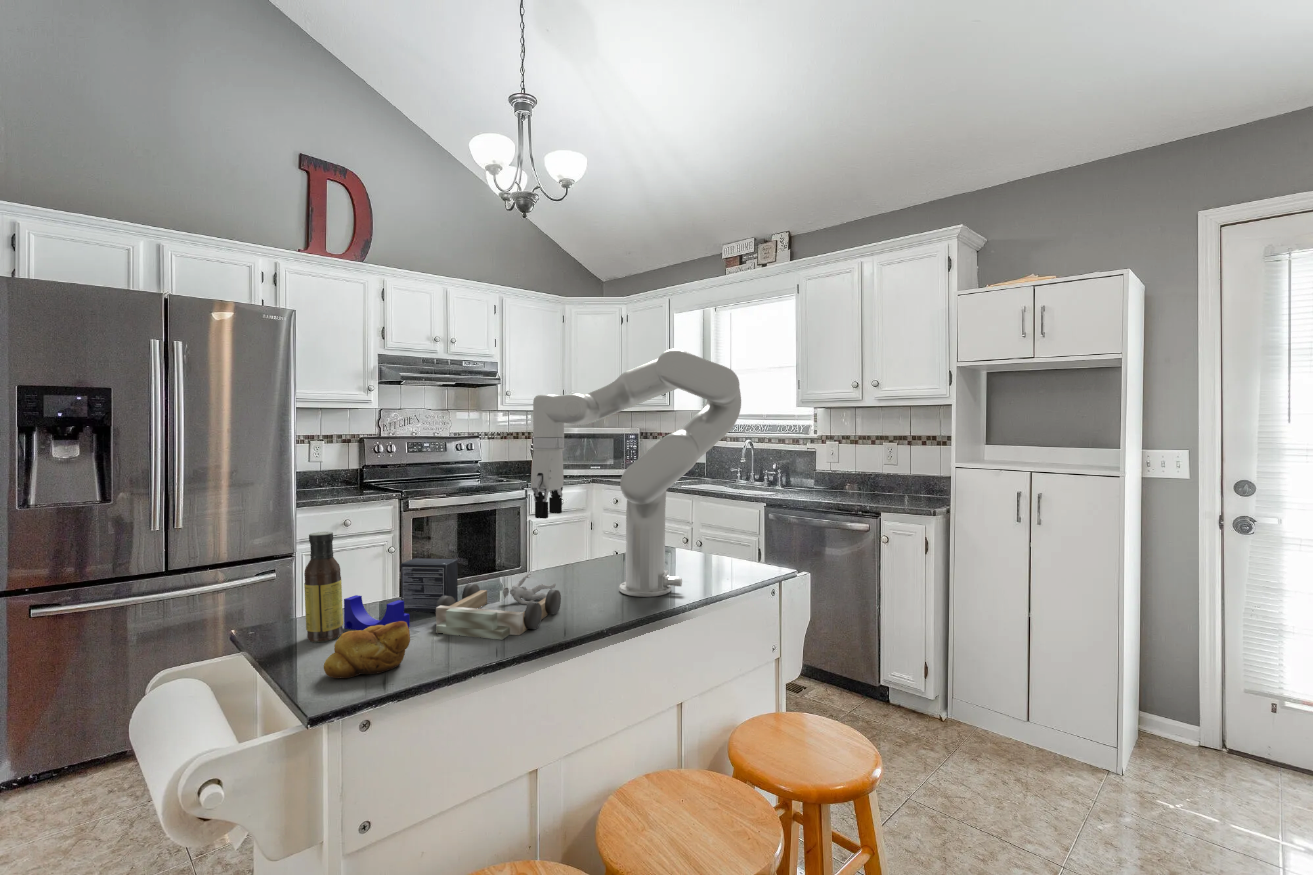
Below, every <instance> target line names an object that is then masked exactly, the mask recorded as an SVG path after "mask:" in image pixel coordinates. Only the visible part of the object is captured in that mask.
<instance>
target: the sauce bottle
mask: <svg viewBox="0 0 1313 875" xmlns="http://www.w3.org/2000/svg"><path fill="white" fill-rule="evenodd" d="M333 540H334V533H333V531H318V532H312V533H310V534H308V542H309V544H310V545H309V546H310V547H309V548H310V554H309V555H310V559H309V562H308V564H306V567H305V570H304V587H303V588H304V606H305V610H304V611H305V630H306V637H307V640H308V641H309V642H311V643H325V642H329V641H333V640H336V639H338V638H339V637H340V636H341V634H343V633H344V630H343V629H344V627H343V626H344V608H343V592H342V591H343V589H342V588H343V587H342V575H341V566H340V564H339V562H338V561H337V560H336V558H335V557H334V551H333V548H334V547H333V545H334V544H333Z"/></svg>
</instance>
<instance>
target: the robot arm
mask: <svg viewBox="0 0 1313 875" xmlns="http://www.w3.org/2000/svg"><path fill="white" fill-rule="evenodd" d="M675 390H682V391H684V392H686V393H688V394H691V395H694V396H697V397H700V398H701V399H705V400H706V402H705V404H704V406H703V407H702V408H701V409H700V410H699V411H698V412H697V413H696V414H695V415H693V416H692V417H691V418H690V419H689V421H687V422H686V423H685V424H683V425H682V426H681V427H680V428H678V429H677V430H676V431H674V432H672V433H669V434H667V435H665V436H664V437H662V438H661V439H660V440H658V441H657V442H656V443H655V444H654V445H653V446H652V447H650V448H649V449H648V450H647V451H646V452H644V453H643V454H642V455H640V457H639V458H637V459H636V460H635V461H634V462H632V463H631V464H630V465H629V466H628V467H627V468H626V469H625V470H624V472H622V475H621V478H620V484H619V485H620V490H621V493H622V496H623V497H624V498H625V499H626V508H625V509H626V514H625V516H626V517H625V581H624V582H622V583H620V584H619V587H618V590H619V592H620V593H621V594H624V595H627V596H629V597H630V596H631V597H638V598H639V597H641V598H649V597H651V598H652V597H658V596H664V595H667V594H669V593H670V592H671V591H672V586H673V587H682V586H683V579H682V578H680V576H670V574H669V570H666V567H665V566H666V507H667V506H666V503H667V500H666V498H667V490H668V489H670V487H671V486H672V485H674V484H676V482H677V481H679V480H680V479H681V478H682V477H683V476H685V474H686V473H688V472H689V471H690V470H692V468H693V467H694V466H695V465H696V463H698V461H699V459H701V458H702V457H703V456H704V455H705V454H706V453H707V452H709V451H710V450H711V449H712V448H713V447H715V445H716V444H717V443H719V441H721V440H722V439H723V438H724V437H725V436H726V435H727V434H728V433H729V432H730V431H731V430H732V428H734V426H735V425H736V423H737V421H738V418H739V416H740V413H741V409H742V396H741V394H742V393H741V389H740V380H739V377H738V376H737V374H736V372H734V370H732V369H731V368H729V367H727V366H725V365H721V364H720V363H717V362H714V361H711V360H709V359H705V358H703V357H700V356H697V355H695V354H693V353H690V352H687V351H685V350H683V349H680V348H669V349H667V350H665V351H664V352H662V353H661V354H660V355H659V357H658V358H656V359H653V360H650V361H649V362H646V363H644V364H642V365H638V366H636V367H634V368H631V369H628V370H625V371H624V372H623V373H621V374H620V375H619V376H618V377H617V378H616V379H615V380H614V381H612V382H610V383H609V384H607V385H605V386H603V387H601V388H597V389H595V390H592V391H590V392H587V393H586V394H583V393H569V394H562V395H561V394H560V395H559V394H537V395H536V396H535V397H534V398H533V400H532V401H533V402H532V406H533V407H532V409H533V410H532V412H533V413H532V414H533V415H532V428H533V433H532V434H533V437H532V438H533V439H532V446H533V447H532V450H533V454H532V460H531V461H532V462H531V475H530V490H531V491H532V492H533V497H534V498H533V500H534V518H535V519H544V520H545V519H546V520H547V519H548V518H549V513H550V514H562V513H563V489H564V481H565V480H564V475H565V474H564V457H563V452H564V451H565V424H569V425H570V424H571V425H588V424H589V425H590V424H592V423H595V422H597V421H601V420H602V419H605V418H607V417H610V416H613V415H614V414H618V413H619V412H621V411H624V410H626V409H630V408H633V407H635V406H637V405H639V404H642V403H644V402H647V401H649V400H651V399H654V398H657V397H659V396H662V395H664V394H667V393H668V394H669V393H670V392H672V391H675ZM549 495H550V497H549V499H548V496H549ZM547 500H548V501H547Z"/></svg>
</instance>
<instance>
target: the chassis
mask: <svg viewBox="0 0 1313 875" xmlns="http://www.w3.org/2000/svg"><path fill="white" fill-rule="evenodd" d="M462 590H463V591H462V594H461V599H460V600H459V601H458V602H456V603H455V600H454V598H453V597H452V596H441V597H440V598H439V600H438V602H437V604H436V608H435V612H434V613H435V628H436V631H435V633H436V634H438V633H443V634H442V635H450V636H459V635H460V636H461V637H470V638H472V637H473V638H480V637H481V638H482V639H483V638H484V639H493V640H504V639H505V638H507V637H508V636H510V635H512V636H521V635H522V634H524V632H526V631H527V630H536V629H538V628H539V626H540V624H541V621H542V620H543V619H544V618H545V617H547V616H548V615H557V614H558V612H559V611H560V609H561V604H562V595H561V592H560V590H558V589H548V590H549V591H548V592H547V593H546V594H547V596H546V598H544V599H543V598H542V599H540V600H539V601H538V602H535V603H529V604H526V605H527V606H526V607H525V610H524V611H523V612H521V611H511V610H510V611H509V610H499V609H487V608H482V607H484V606H486V605H488V590H486V589H485V590H484V589H480V587H479V585H478V584H476V583H467V584H466V585H465V586H464V588H463V589H462ZM485 604H486V605H485ZM481 606H482V607H481ZM477 608H479V609H477ZM481 638H480V639H481Z"/></svg>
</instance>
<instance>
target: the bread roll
mask: <svg viewBox="0 0 1313 875" xmlns="http://www.w3.org/2000/svg"><path fill="white" fill-rule="evenodd" d="M410 643H411V633H410V628H408V626H407V623H406V622H404V621H398V622H393V623H389V624H386V625H385V626H384V625H376V626H370V627H368V628H366V629H364V630H348V631H346V632H343V633H342V634H341V635H340V636H339V637H337V639H336V641H335V643H334V650H333V651H334V652H333V653H331V654H330V655H329V656H328V657H327V658H326V659H325V661H324V664H323V670H324V673H325V675H326V676H327V677H329V678H334V679H349V678H354V677H357V676H359V675H361V674H364V675H369V674H370V675H371V674H373V675H374V674H381V673H383V672H387V671H389V670H393V669H395V668H396V667H398V666H399V665H400V664H401V663H402V661H403V659H404V657H405V655H406V650H407V649H408V647H409V645H410Z"/></svg>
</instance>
